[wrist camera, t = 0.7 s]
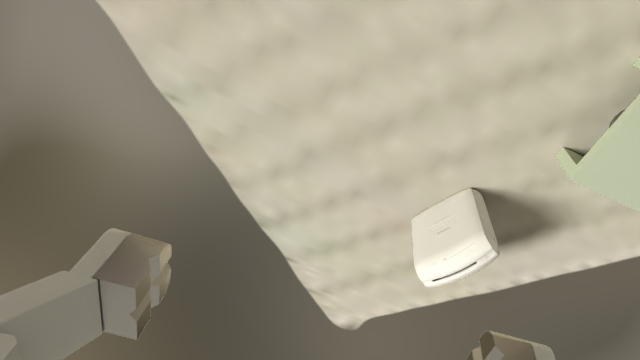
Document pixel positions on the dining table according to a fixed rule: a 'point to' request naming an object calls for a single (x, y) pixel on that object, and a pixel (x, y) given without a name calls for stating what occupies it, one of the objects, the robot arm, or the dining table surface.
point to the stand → (611, 160)
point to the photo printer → (453, 239)
